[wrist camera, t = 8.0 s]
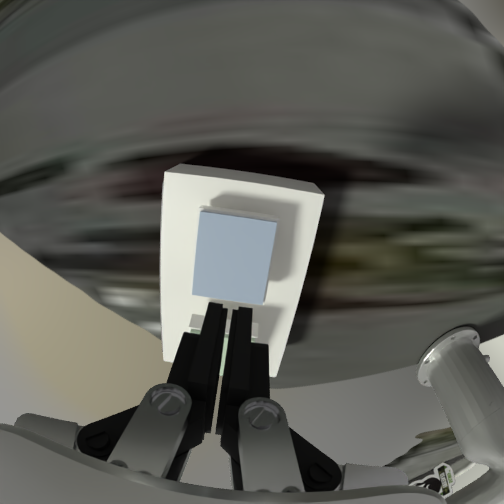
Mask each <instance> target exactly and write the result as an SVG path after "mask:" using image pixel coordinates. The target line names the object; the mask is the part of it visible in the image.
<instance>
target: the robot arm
mask: <svg viewBox="0 0 504 504" xmlns="http://www.w3.org/2000/svg"><path fill="white" fill-rule="evenodd" d="M227 314H228V308H223V304H220V303H214V302H209V303H208V307H207V311H206V314H205V318H204V321H203V325H202V329H201V332H200V334H195V333H189V332H184V333H183V335H182V338H181V341H180V344H179V347H178V350H177V353H176V356H175V359H174V362H173V365H172V368H171V371H170V374H169V377H168V380H167V383H163V384H158V385H155V386H154V387H152V388H150V389H149V391H148V392H147V393H146V394H145V396H144V398H143V400H142V401H141V403H140V405H138V406H135V407H133V408H130V409H128V410H125V411H123V412H120V413H117V414H115V415H112V416H110V417H107V418H104V419H101V420H99V421H96V422H93V423H90V424H88V425H86V426H79V425H78V424H77V423H75V422H70V421H64V420H59V419H54V418H50V417H45V416H41V415H36V414H31V413H26V414H23V415H21V416H20V417H19V418H17V420H16V422H15V425H14V426H13V425H8V424H3V423H0V504H504V387H503V386H502V384H501V382H500V381H499V379H498V378H497V376H496V375H495V373H494V372H493V370H492V369H491V368H490V366H489V364H488V362H489V360H490V357H489V355H482V353H481V352H480V351H479V349H478V348H479V344H480V337H479V334H478V333H477V332H476V330H475V329H473V328H471V327H460V328H457V329H454V330H452V331H450V332H448V333H446V334H445V335H443V336H442V337H440V338H439V339H438V340H437V341H435V342H434V343H433V344H432V345H431V346H430V347H429V348H428V349H427V351H426V352H425V353H424V355H423V356H422V358H421V359H420V361H419V363H418V365H417V369H416V375H417V379H418V380H419V382H420V383H421V384H422V385H424V386H430V387H431V386H432V387H433V389H434V391H435V393H436V395H437V397H438V400H439V402H440V404H441V406H442V408H443V410H444V412H445V414H446V417H447V419H448V421H449V423H450V425H451V428H452V430H453V432H454V435H455V437H456V439H457V442H458V444H459V446H460V449H461V451H462V453H463V455H464V456H465V457H466V458H467V459H468V460H470V461H472V462H474V463H478V464H484V465H487V466H489V470H488V471H487V472H486V473H485V474H483V475H482V476H481V477H480V478H478V479H477V480H475V481H474V482H472V483H470V484H469V485H467V486H465V487H464V488H462V489H461V490H459V491H457V492H455V493H454V494H452V495H450V496H449V497H447V498H445V499H444V498H443V497H442V496H441V495H440V494H439V493H437V492H436V491H433V490H431V489H427V488H424V487H419V486H410V485H408V478H407V476H406V474H405V473H404V472H403V471H402V470H400V469H398V468H394V467H379V466H367V465H357V464H349V463H346V464H345V465H339V464H337V463H336V462H334V461H333V460H332V459H330V458H329V457H328V456H326V455H325V454H324V453H322V452H321V451H320V450H318V449H317V448H316V447H314V446H313V445H312V444H310V443H309V442H308V441H307V440H305V439H304V438H303V437H301V436H300V435H299V434H297V433H296V432H295V431H293V430H292V429H291V428H290V427H289V426H288V422H287V418H286V414H285V411H284V409H283V408H282V407H281V406H280V405H279V404H278V403H277V402H275V401H273V400H271V399H270V383H269V345H268V344H263V343H255V342H251V336H252V316H253V308H247V307H240V306H239V307H238V310H235V309H233V310H232V317H231V323H230V330H229V337H228V344H227V351H226V357H225V364H224V371H223V378H222V385H221V393H220V402H219V409H218V417H217V425H216V433H215V434H218V435H221V447H222V448H223V449H224V450H225V451H226V452H227V453H228V454H229V467H230V477H231V486H232V490H229V489H219V488H213V487H206V486H199V485H193V484H188V483H182V482H180V480H181V477H182V475H183V472H184V469H185V467H186V464H187V462H188V459H189V456H190V454H191V450H192V448H194V447H195V446H197V445H199V444H201V443H202V440H204V434H205V433H211V427H212V419H213V413H214V406H215V400H216V394H217V387H218V381H219V374H220V368H221V361H222V353H223V345H224V337H225V329H226V321H227Z"/></svg>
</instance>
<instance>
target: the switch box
mask: <svg viewBox="0 0 504 504" xmlns="http://www.w3.org/2000/svg"><path fill="white" fill-rule="evenodd" d="M324 196H325V195H324V194H323V193H322V192H321V190H320V189H319V188H318V187H317V186H316V185H315V184H314V183H311V182H305V181H300V180H294V179H289V178H283V177H277V176H271V175H264V174H258V173H251V172H244V171H237V170H230V169H222V168H214V167H206V166H197V165H188V164H179V165H177V166H175V167H173V168H171V169H169V170H167V171H166V172H165V175H164V182H163V190H162V208H161V233H160V310H161V335H162V352H163V358H164V361H168V362H174V359H175V356H176V353H177V350H178V347H179V344H180V341H181V338H182V335H183V333H184V332H189V324H190V320H191V316H192V314H198V315H204V316H205V314H206V311H207V307H208V303H209V302H214V303H220V304H223V308H228V314H227V319H230V320H231V317H232V310H233V309H235V310H238V307H239V306H240V307H247V308H253V316H252V323H258V338H257V342H256V343H263V344H268V345H269V376H271V377H276V375H277V372H278V369H279V366H280V362H281V359H282V356H283V353H284V349H285V346H286V343H287V339H288V336H289V333H290V329H291V326H292V322H293V319H294V315H295V312H296V308H297V305H298V301H299V297H300V294H301V290H302V286H303V282H304V279H305V275H306V271H307V267H308V263H309V259H310V255H311V251H312V247H313V243H314V239H315V235H316V231H317V227H318V222H319V218H320V214H321V209H322V205H323V200H324ZM202 205H206V206H213V207H221V208H228V209H235V210H242V211H249V212H255V213H262V214H269V215H275V216H278V217H279V219H280V221H279V227H278V233H277V239H276V244H275V250H274V255H273V261H272V267H271V272H270V278H269V283H268V288H267V294H266V299H265V304H264V305H258V304H250V303H243V302H236V301H229V300H222V299H216V298H209V297H203V296H196V295H190V292H191V279H192V267H193V256H194V246H195V236H196V227H197V218H198V209H199V207H200V206H202Z"/></svg>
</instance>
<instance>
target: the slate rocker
mask: <svg viewBox="0 0 504 504" xmlns="http://www.w3.org/2000/svg"><path fill="white" fill-rule="evenodd" d="M279 221H280V219H279V217H278V216H275V215H269V214H262V213H255V212H249V211H242V210H235V209H228V208H221V207H213V206H206V205H202V206H200V207H199V209H198V218H197V227H196V236H195V246H194V256H193V267H192V279H191V292H190V295H196V296H203V297H209V298H216V299H222V300H229V301H236V302H243V303H250V304H258V305H264V304H265V299H266V294H267V288H268V283H269V278H270V272H271V267H272V261H273V255H274V250H275V244H276V239H277V233H278V227H279Z"/></svg>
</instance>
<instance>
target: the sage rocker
mask: <svg viewBox="0 0 504 504" xmlns="http://www.w3.org/2000/svg"><path fill="white" fill-rule="evenodd" d="M204 318H205V316H204V315H198V314H192V316H191V320H190V324H189V333H195V334H200V332H201V329H202V325H203V321H204ZM230 323H231V320H230V319H227V321H226V329H225V337H224V345H223V353H222V361H221V368H220V374H219V375H221V376H223V371H224V364H225V357H226V351H227V344H228V337H229V330H230ZM257 338H258V323H252V336H251V342H255V343H256V342H257Z"/></svg>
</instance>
